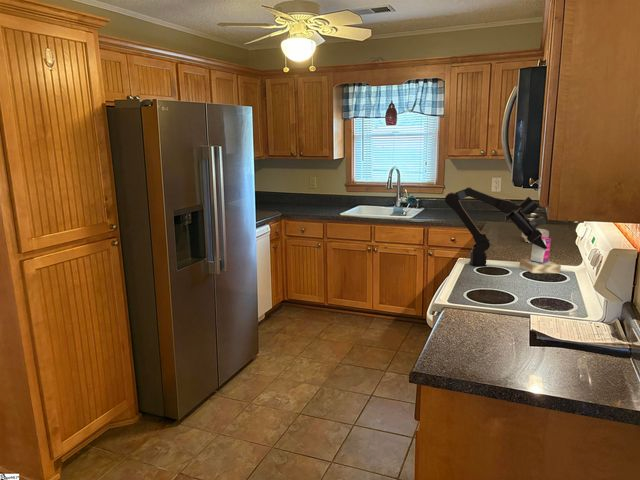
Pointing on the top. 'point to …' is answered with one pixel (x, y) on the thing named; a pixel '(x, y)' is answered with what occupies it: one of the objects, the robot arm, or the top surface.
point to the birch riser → (540, 266)
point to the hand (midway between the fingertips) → (544, 246)
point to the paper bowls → (544, 232)
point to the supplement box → (541, 252)
